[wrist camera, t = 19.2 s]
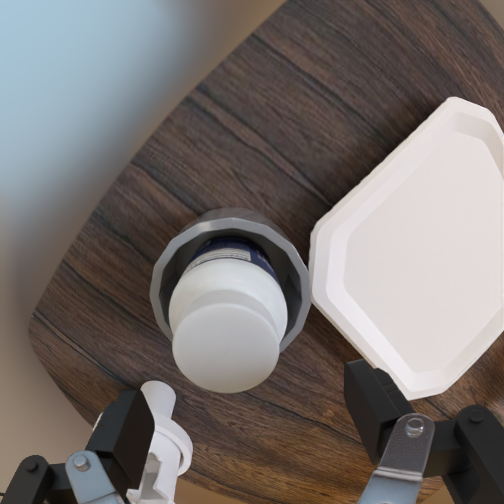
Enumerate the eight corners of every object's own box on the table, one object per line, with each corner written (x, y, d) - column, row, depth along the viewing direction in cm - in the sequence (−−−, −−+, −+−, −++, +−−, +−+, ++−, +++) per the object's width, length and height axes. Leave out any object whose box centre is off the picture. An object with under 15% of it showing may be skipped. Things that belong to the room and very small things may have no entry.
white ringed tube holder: (213, 414, 24) (202, 572, 10) (144, 428, 24) (106, 563, 10) (175, 351, 22) (124, 527, 8) (104, 370, 23) (27, 510, 8)
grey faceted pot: (185, 330, 22) (172, 373, 17) (160, 217, 20) (134, 233, 15) (298, 314, 22) (315, 355, 17) (285, 198, 20) (302, 207, 15)
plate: (538, 260, 22) (551, 265, 20) (408, 402, 25) (417, 416, 23) (455, 81, 18) (472, 75, 16) (270, 254, 21) (273, 263, 19)
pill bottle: (276, 304, 21) (303, 396, 12) (198, 314, 21) (174, 411, 12) (266, 225, 20) (292, 273, 10) (183, 237, 20) (136, 294, 10)
